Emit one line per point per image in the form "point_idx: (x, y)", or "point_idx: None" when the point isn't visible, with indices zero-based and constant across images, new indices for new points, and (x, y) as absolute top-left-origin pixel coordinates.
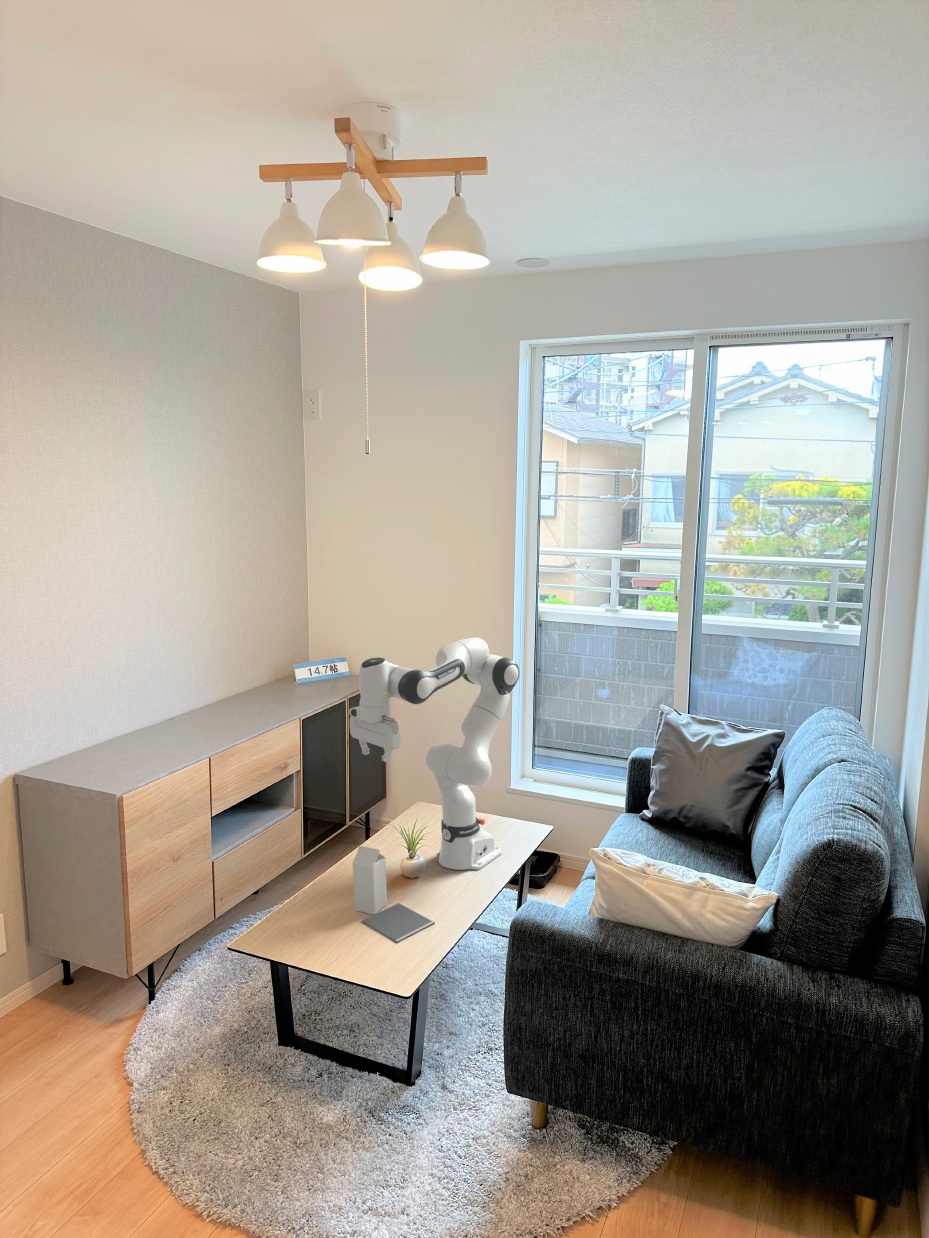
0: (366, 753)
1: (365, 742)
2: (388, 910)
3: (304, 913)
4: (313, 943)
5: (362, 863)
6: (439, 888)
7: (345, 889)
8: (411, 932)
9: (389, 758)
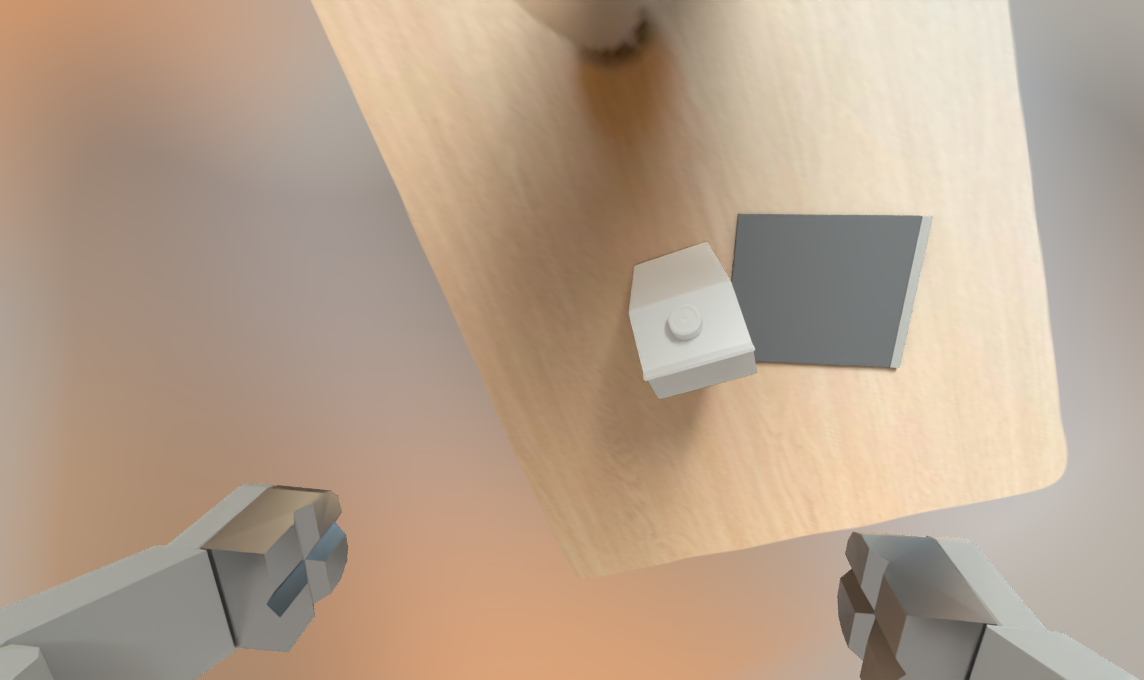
0: (334, 554)
1: (43, 650)
2: (746, 269)
3: (565, 427)
4: (705, 495)
5: (700, 385)
6: (778, 20)
7: (531, 270)
8: (905, 310)
9: (988, 560)
